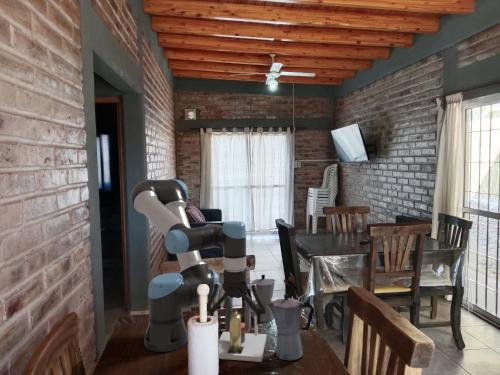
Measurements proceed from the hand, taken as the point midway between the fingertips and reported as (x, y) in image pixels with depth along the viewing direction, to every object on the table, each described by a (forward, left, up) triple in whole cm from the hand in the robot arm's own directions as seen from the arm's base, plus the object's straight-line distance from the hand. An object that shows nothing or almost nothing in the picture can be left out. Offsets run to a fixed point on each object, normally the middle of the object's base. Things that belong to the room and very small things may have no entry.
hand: (235, 333), depth 117 cm
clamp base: (+1, +5, -7) cm, 9 cm away
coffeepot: (+5, +30, -8) cm, 32 cm away
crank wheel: (+1, +6, -6) cm, 8 cm away
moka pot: (+18, +3, -8) cm, 20 cm away
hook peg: (0, 0, -7) cm, 7 cm away
